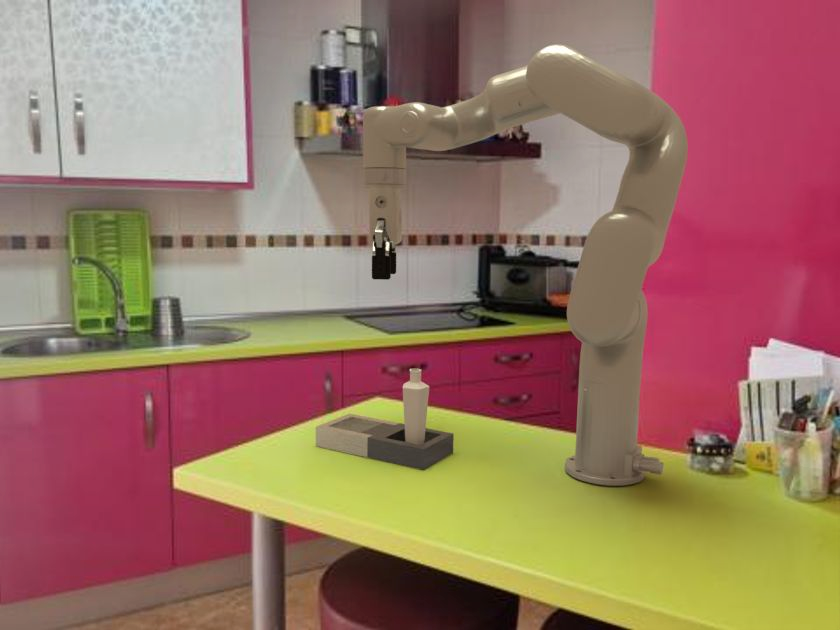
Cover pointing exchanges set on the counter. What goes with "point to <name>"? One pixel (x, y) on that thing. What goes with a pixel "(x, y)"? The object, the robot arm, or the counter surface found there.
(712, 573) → the counter surface
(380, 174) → the robot arm
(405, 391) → the perfume bottle
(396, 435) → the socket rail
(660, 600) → the counter surface
